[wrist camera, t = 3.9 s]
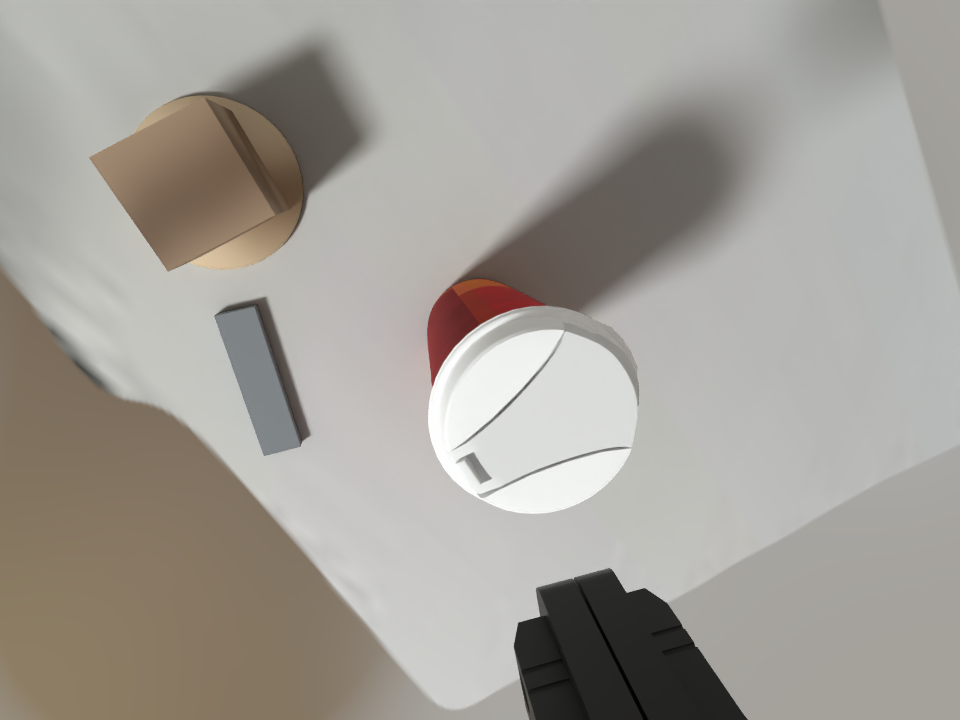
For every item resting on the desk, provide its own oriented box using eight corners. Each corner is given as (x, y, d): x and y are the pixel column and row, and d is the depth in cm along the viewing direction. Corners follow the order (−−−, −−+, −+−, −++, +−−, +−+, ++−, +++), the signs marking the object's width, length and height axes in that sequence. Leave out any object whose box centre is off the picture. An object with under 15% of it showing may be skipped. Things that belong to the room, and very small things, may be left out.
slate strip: (217, 313, 31) (214, 315, 30) (256, 304, 31) (254, 306, 31) (265, 451, 33) (263, 456, 33) (301, 442, 34) (300, 446, 33)
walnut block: (136, 161, 28) (88, 157, 23) (231, 110, 28) (203, 97, 23) (200, 256, 30) (168, 271, 25) (290, 209, 30) (275, 214, 25)
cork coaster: (99, 115, 28) (96, 114, 27) (274, 80, 28) (273, 79, 28) (163, 284, 30) (161, 285, 30) (322, 249, 31) (322, 249, 31)
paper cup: (454, 418, 35) (506, 565, 22) (379, 308, 32) (385, 399, 19) (569, 345, 35) (691, 448, 22) (503, 229, 32) (595, 265, 19)
